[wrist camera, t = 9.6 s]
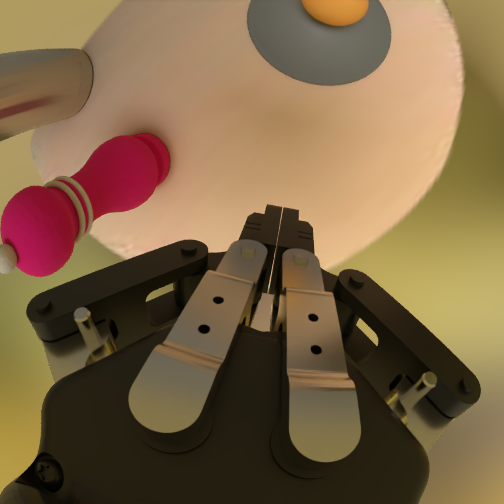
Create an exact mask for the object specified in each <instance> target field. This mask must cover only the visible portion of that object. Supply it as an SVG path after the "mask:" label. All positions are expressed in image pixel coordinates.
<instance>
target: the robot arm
mask: <svg viewBox="0 0 504 504" xmlns="http://www.w3.org/2000/svg"><path fill="white" fill-rule="evenodd" d="M92 78H93V75H92V66H91V62H90V60H89V57H88V56H87V55H86V53H85V52H83V51H82V50H79V49H39V50H26V51H17V52H9V53H2V54H0V141H3V140H5V139H8V138H10V137H13V136H15V135H18V134H20V133H23V132H26V131H28V130H31V129H34V128H37V127H40V126H43V125H46V124H49V123H53V122H56V121H59V120H63V119H66V118H69V117H71V116H74V115H75V114H76V113H77V112H79V110H80V109H81V108H82V107H83V105H84V104H85V102H86V100H87V98H88V96H89V93H90V90H91V86H92ZM281 212H282V207H279V206H273V205H268V204H267V207H266V210H265V214H261V213H255V212H254V213H253V214H251V215H249V216H248V218H247V220H246V223H245V225H244V228H243V230H242V233H241V235H240V238H239V240H238V241H235V242H233V243H232V244H231V245H230V247H229V249H228V250H227V251H226V252H218V253H208V247H207V246H206V245H205V244H204V243H202V242H200V241H197V240H182V241H178V242H176V243H173V244H170V245H167V246H164V247H161V248H158V249H155V250H153V251H150V252H147V253H144V254H141V255H139V256H136V257H133V258H130V259H128V260H125V261H122V262H119V263H117V264H114V265H111V266H109V267H106V268H104V269H101V270H98V271H95V272H93V273H90V274H88V275H85V276H82V277H80V278H77V279H75V280H72V281H70V282H67V283H64V284H62V285H59V286H57V287H54V288H52V289H50V290H47V291H45V292H42V293H40V294H38V295H36V296H35V297H34V298H33V299H32V300H31V301H30V302H29V304H28V306H27V310H26V313H27V317H28V318H29V321H30V322H31V324H32V326H33V327H34V329H35V331H36V334H37V336H38V338H39V340H40V341H41V343H42V344H43V346H44V348H45V352H46V356H47V359H48V363H49V366H50V370H51V372H52V376H53V379H54V382H55V384H54V385H53V386H52V387H51V388H50V390H49V391H48V393H47V394H46V397H45V399H44V402H43V405H42V410H41V439H40V445H39V450H38V454H37V457H36V459H35V460H34V462H33V463H32V464H31V465H30V467H29V468H28V469H27V470H26V471H25V472H24V473H22V474H21V475H20V476H19V477H18V478H16V479H15V480H14V481H12V482H11V483H10V484H9V485H7V486H6V487H5V488H4V490H3V491H2V493H1V495H0V504H418V503H419V501H420V498H421V496H422V494H423V492H424V490H425V487H426V485H427V481H428V478H429V460H428V456H427V454H426V453H427V452H428V451H429V449H430V448H431V447H432V446H433V444H434V443H435V442H436V441H437V439H438V438H439V437H440V436H441V434H442V433H443V432H444V430H445V429H446V428H447V426H448V425H449V424H450V422H452V421H453V420H454V419H456V418H457V417H458V416H460V415H461V414H462V413H463V412H465V411H466V410H467V409H468V408H470V407H471V406H472V405H473V404H474V403H476V402H477V401H478V399H479V397H480V393H481V388H480V384H479V381H478V379H477V378H476V376H475V375H474V374H473V373H472V372H471V371H470V370H469V369H468V368H467V367H466V366H465V365H464V364H463V363H462V362H461V361H460V360H459V359H458V358H457V357H456V356H455V355H454V354H453V353H452V352H451V351H450V350H449V349H448V348H447V347H446V346H445V345H444V344H443V343H442V342H441V341H440V340H439V339H438V338H437V337H436V336H435V335H434V334H433V333H431V332H430V331H429V330H428V329H427V328H426V327H425V326H424V325H423V324H422V323H421V322H420V321H419V320H417V319H416V318H415V317H414V316H413V315H412V314H411V313H410V312H409V311H408V310H406V309H405V308H404V307H403V306H402V305H401V304H400V303H398V302H397V301H396V300H395V299H394V298H393V297H392V296H391V295H389V294H388V293H387V292H386V291H385V290H384V289H383V288H381V287H380V286H379V285H378V284H377V283H376V282H374V281H373V280H372V279H371V278H370V277H369V276H367V275H366V274H364V273H363V272H360V271H358V270H353V269H346V270H343V271H342V272H340V273H339V276H336V275H333V274H331V273H329V272H327V271H325V270H323V269H322V268H321V267H320V263H319V260H318V258H317V257H316V256H315V255H314V240H313V228H312V226H311V225H310V224H309V223H308V222H305V221H300V220H299V210H296V209H290V208H285V207H284V208H283V213H282V219H281ZM280 219H281V224H280ZM279 225H280V230H279ZM278 231H279V235H278ZM277 237H278V241H277ZM276 244H277V246H276ZM275 249H276V252H275ZM274 254H275V258H274ZM273 260H274V264H273ZM272 265H273V270H272ZM271 270H272V276H271V282H270V288H269V294H273V295H274V296H273V301H272V306H271V314H270V332H262V331H258V330H255V329H253V328H251V326H252V323H253V320H254V317H255V314H256V311H257V307H258V303H259V301H260V299H261V296H262V293H267V291H268V285H269V280H270V275H271ZM171 283H173V288H174V290H173V291H170V292H168V293H166V294H164V295H161V296H159V297H157V298H155V299H152V300H150V301H147V302H146V298H147V296H148V295H149V293H151V292H152V291H154V290H157V289H159V288H161V287H164V286H166V285H168V284H171ZM359 318H361V319H362V320H363V321H364V322H365V323H366V324H367V325H368V326H369V327H370V328H371V329H372V330H373V331H374V332H375V333H376V335H377V337H378V346H376V345H375V344H374V343H373V342H372V341H371V340H370V339H369V338H368V337H367V336H366V335H365V334H364V333H363V332H362V331H361V330H360V329H359V328H358V327H357V326H356V324H357V322H358V320H359Z"/></svg>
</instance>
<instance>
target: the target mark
mask: <svg viewBox="0 0 504 504" xmlns="http://www.w3.org/2000/svg"><path fill="white" fill-rule="evenodd" d="M368 1H369V5H368V10H367V12H366V14H365V15H364V16H363V18H361V19H360V20H359V21H357V22H356V23H353V24H350V25H346V26H334V25H329V24H325V23H323V22H321V21H319V20H317V19H315V18H314V17H313V16H311V15H310V14H309V13H308V12H307V10H306V9H305V7H304V6H303V4H302V1H301V0H251V3H250V5H249V9H248V15H247V23H248V30H249V34H250V37H251V39H252V41H253V43H254V45H255V47H256V48H257V50H258V51H259V53H260V54H261V55H262V56H263V57H264V58H265V59H266V60H267V61H268V62H269V63H270V64H271V65H272V66H274V67H275V68H276V69H278V70H279V71H281V72H282V73H284V74H286V75H288V76H290V77H292V78H294V79H297V80H300V81H303V82H307V83H311V84H317V85H342V84H347V83H351V82H354V81H357V80H360V79H362V78H364V77H366V76H367V75H369V74H370V73H372V72H373V71H374V70H375V69H377V68H378V67H379V66H380V64H381V63H382V62H383V60H384V59H385V57H386V55H387V53H388V50H389V48H390V42H391V28H390V23H389V19H388V16H387V14H386V12H385V10H384V8H383V6H382V5H381V3H380V2H379V0H368Z"/></svg>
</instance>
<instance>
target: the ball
mask: <svg viewBox="0 0 504 504" xmlns="http://www.w3.org/2000/svg"><path fill="white" fill-rule="evenodd" d="M301 1H302V4H303V6H304V7H305V9H306V10H307V12H308V13H309V14H310V15H311V16H313V17H314V18H315V19H317V20H319V21H321V22H323V23H325V24H329V25H334V26H346V25H350V24H353V23H356V22H357V21H359V20H360V19H361V18H363V16H364V15H365V14H366V12H367V10H368V5H369V1H368V0H301Z"/></svg>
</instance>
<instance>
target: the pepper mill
mask: <svg viewBox="0 0 504 504" xmlns="http://www.w3.org/2000/svg"><path fill="white" fill-rule="evenodd" d="M169 168H170V157H169V153H168V150H167V148H166V146H165V145H164V144H163V142H162V141H161V140H160V139H159V138H157V137H156V136H154V135H152V134H148V133H140V134H136V135H133V136H118V137H114V138H112V139H110V140H108V141H106V142H104V143H103V144H102V145H100V146H99V147H98V148H97V149H96V150H95V151H94V152H93V154H92V155H91V156H90V158H89V159H88V161H87V162H86V164H85V165H84V166H83V168H82V169H81V170H80V171H79V172H77V173H76V174H74V175H73V176H71V177H67V176H59V177H57V178H55V179H54V180H53V181H50V182H48V183H46V184H45V185H44V186H43V187H42V186H30V187H27V188H25V189H23V190H21V191H20V192H18V193H17V194H16V195H15V196H14V197H13V198H12V199H11V200H10V201H9V202H8V204H7V206H6V207H5V209H4V212H3V215H2V218H1V228H0V229H1V238H2V242H3V244H2V245H0V273H2V274H8V273H10V272H12V271H13V269H14V268H15V266H17V267H18V268H19V269H20V270H21V271H23V272H25V273H26V274H28V275H31V276H35V277H43V276H48V275H51V274H53V273H54V272H56V271H58V270H59V269H60V268H61V267H63V265H64V264H65V263H66V262H67V261H68V260H69V258H70V256H71V254H72V252H73V248H74V244H76V243H78V242H79V241H80V240H81V239H82V237H84V236H86V235H87V234H88V233H89V232H90V230H91V227H92V223H93V221H94V220H96V219H97V218H99V217H100V216H102V215H104V214H107V213H112V212H124V211H128V210H131V209H134V208H136V207H138V206H139V205H141V204H142V203H144V202H145V201H147V200H148V199H149V197H150V196H151V195H152V194H153V192H154V190H155V188H156V187H157V186H158V185H159V184H161V183H162V182H163V181H164V180H165V178H166V177H167V174H168V172H169Z"/></svg>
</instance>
